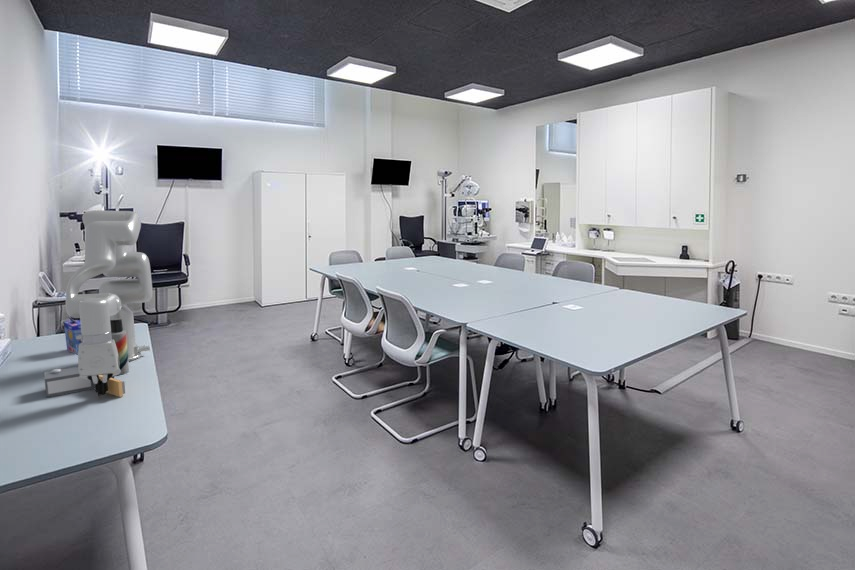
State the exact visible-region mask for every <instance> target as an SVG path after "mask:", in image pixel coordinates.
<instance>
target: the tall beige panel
mask: <svg viewBox="0 0 855 570" xmlns="http://www.w3.org/2000/svg"><path fill="white" fill-rule="evenodd" d="M99 378H100V379H101V381H102V379H103V375H99ZM107 382H108V391H106V393H105V394H109V395H113V396H116V397H118V398H119V397H120V398H121V397H123V396H124V395H125V394H126V388H125V386H126V385H125V381H123V380H121V379H120V380H119V379H116V378H115V377H114V378H110V379H109V380H108V381H107ZM94 387H95V384H94ZM94 390H96V388H95V389H94Z"/></svg>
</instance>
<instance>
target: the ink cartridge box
mask: <svg viewBox="0 0 855 570" xmlns="http://www.w3.org/2000/svg"><path fill="white" fill-rule="evenodd" d="M68 318H69V320H67V321H63V327H64V336H65V342H66V345H65V346H66V350H67V351H68V352H70V353H72V354H74V355H75V354H76V355H78V350H79V344H81V343H82V341H81V340H76V336H79V335H81V334H82V333H81V323H80V319H74V318H72V317H70V316H68Z"/></svg>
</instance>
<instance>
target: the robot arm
mask: <svg viewBox="0 0 855 570" xmlns="http://www.w3.org/2000/svg"><path fill="white" fill-rule="evenodd" d="M81 217H82V218H81V219H82V223H83V225H84V228H85V237H84V238H85V239H84V240H85V241H84V263H83V265H81V266H80V267H79V268H78V269H77V270H76V271H75V272H74V273H73V274H72V275H71V277H70V278H69V280H68V282H67V284H66V288H65V289H66V290H65V311H66V314H67V315H68V317H70V318H72V319H79V320H80V323H81V333H82V334H81V335H79V336H76V340H81V341H82V343H81V344H79V350H78V354H77V355H78V356H77V363H78V364H77V367H78V371H79V375H80V376H79V377H80V378H83V379H89V380H91V381H92V382H93V383H94V384H95V388H96V389H95V393H97V395H98V397H99V396H105V395H106V394H107V393H106V391H108V382H107V381H108V380H109V379H110V378H111V377H112V376H114V377H115V376H120V375H119V374H120V373H121V371H120V368H119V356H118V351H117V347H116V344H115V341H114V340H112V336H111V324H110V320H119V319H122V325H123V331H126V337H127V349H128V361H129V362H132V361H134V360H137V358H138V359H140V358H141V357H142V352H148V351H151V348H150V345H139V346H138V345H137V344H136V334H135V333H136V332H135V321H134V313H133V311H132V310H131V309H130V308H129V307H128V306H127V305H126V304H128V305H129V304H139V303H140V304H141V303H143V304H144V303H148V302H150V301H151V300H152V299H153V296H154V295H153V283H152V282H153V281H152V272H151V271H152V270H151V264H150V259H149V257H148V256H147V254H146V253H144V252H140V251H132V252H131V251H129V252H128V251H127V250H126V246H133V245H135V244H136V243H137V241H138V238H139V236H140V235H139V234H140V231H141V227H142V221H141V217H140V215H139V214H138V212H135V211H132V210H131V211H130V210H102V209H101V210H99V209H98V210H89V211H86V212H84V213H83V214H82V216H81ZM99 275H104V277H108V278H117V279H108V280H105V281H103V282H102V283H101V284H100V285H99V287H98V293H83V294H79V291H80V288H81V286H83V285H84V283H86V282H88V281H89V280H91V279H93V278H95V277H97V276H99ZM130 277H131V278H130ZM118 278H122V279H118ZM99 375H103V379H102V381H101V379H100V378H99Z"/></svg>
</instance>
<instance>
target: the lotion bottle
mask: <svg viewBox="0 0 855 570" xmlns="http://www.w3.org/2000/svg"><path fill="white" fill-rule="evenodd" d="M110 324H111V336H112V340H114V341H115V344H116V347H117V351H118V356H119V368H120V371H121V373H120V374H119V375H118V376H121V375H125V374H127V372H128V373H129V372H130V364H129V363H130V361H128V349H127V337H126V331H123V325H122V319H119V320H110Z"/></svg>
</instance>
